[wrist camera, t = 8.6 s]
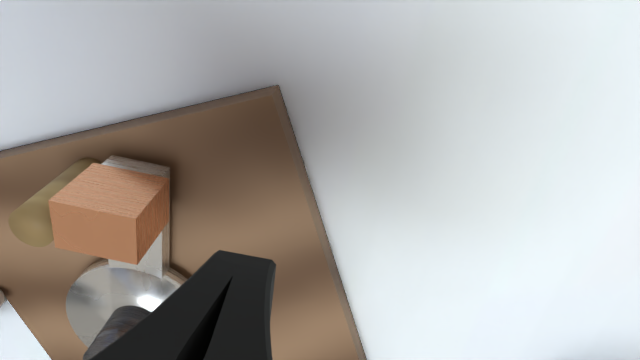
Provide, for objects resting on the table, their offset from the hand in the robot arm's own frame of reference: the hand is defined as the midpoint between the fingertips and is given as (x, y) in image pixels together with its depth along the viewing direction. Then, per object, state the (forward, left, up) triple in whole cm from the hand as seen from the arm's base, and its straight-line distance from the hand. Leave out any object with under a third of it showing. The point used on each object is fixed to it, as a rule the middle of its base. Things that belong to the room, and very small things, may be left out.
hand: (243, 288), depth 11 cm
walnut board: (+6, -9, -9) cm, 14 cm away
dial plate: (+5, -9, -8) cm, 13 cm away
